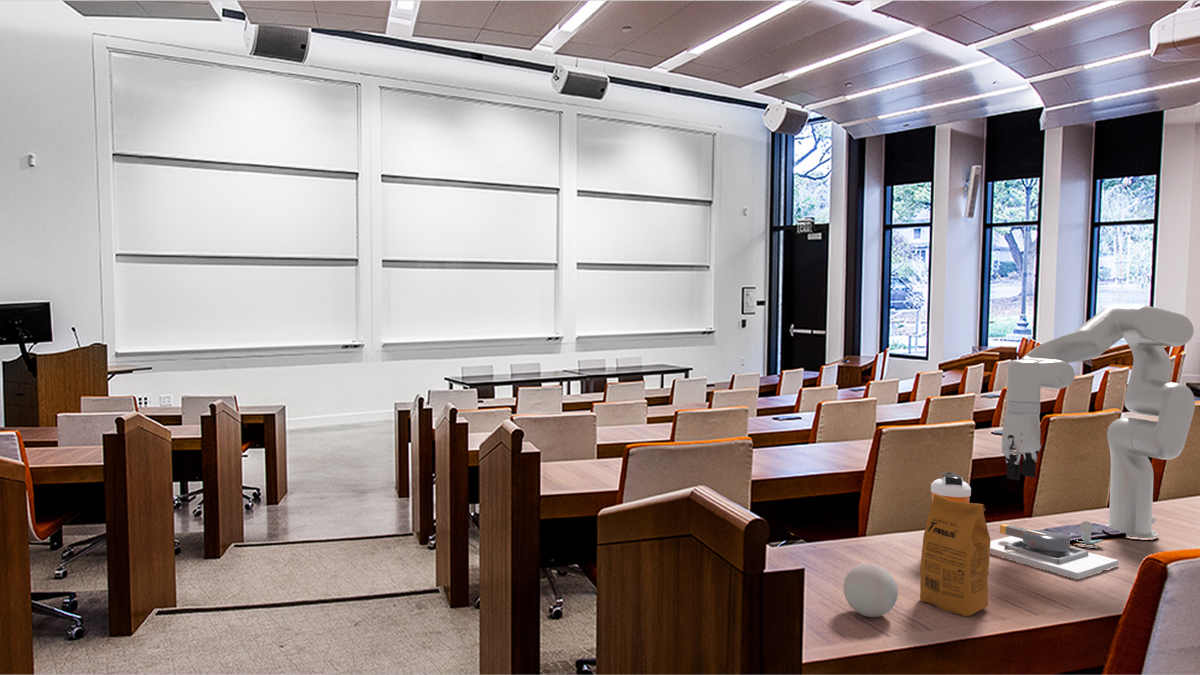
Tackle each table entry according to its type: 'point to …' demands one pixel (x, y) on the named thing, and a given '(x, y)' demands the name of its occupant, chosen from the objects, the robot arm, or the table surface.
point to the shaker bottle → (951, 488)
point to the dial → (1040, 540)
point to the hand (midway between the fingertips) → (1021, 477)
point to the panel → (1052, 558)
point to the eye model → (870, 590)
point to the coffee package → (955, 557)
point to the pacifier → (1087, 535)
